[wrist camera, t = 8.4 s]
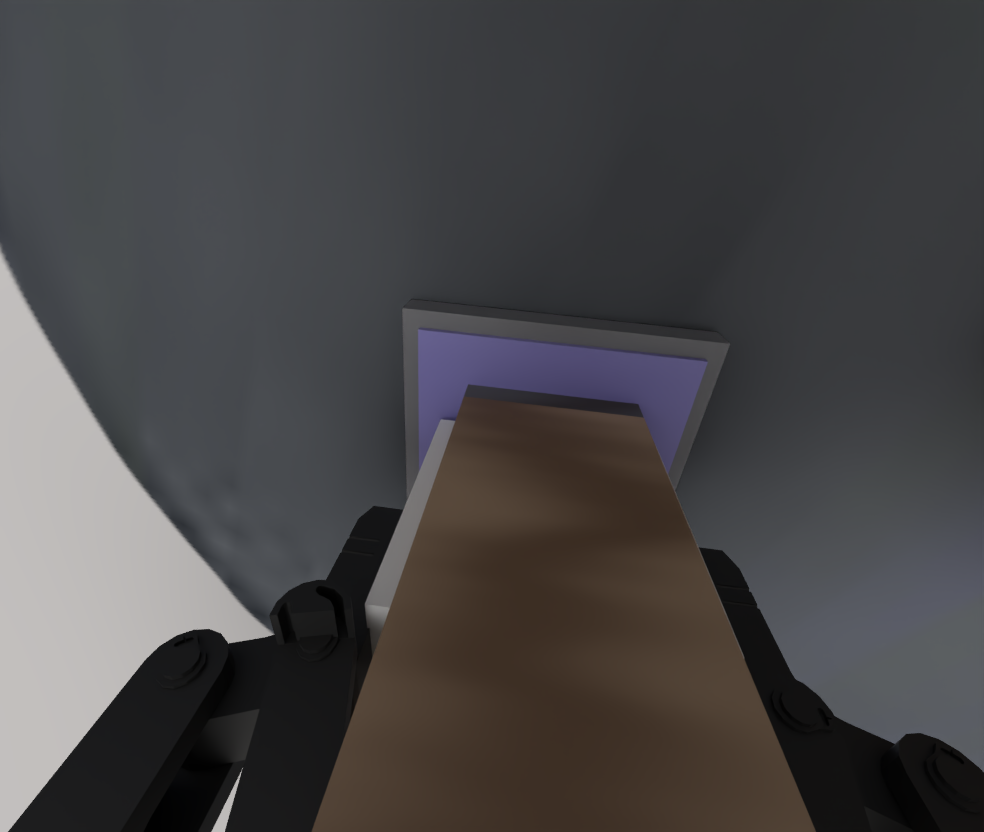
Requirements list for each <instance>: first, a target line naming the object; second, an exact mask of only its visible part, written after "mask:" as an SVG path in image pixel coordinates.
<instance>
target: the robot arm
mask: <svg viewBox="0 0 984 832" xmlns="http://www.w3.org/2000/svg"><path fill="white" fill-rule="evenodd" d="M454 423H455V421H452V420H443V419H441V420H440V422H439V425H438V427H437V430H436V432H435V434H434V437H433V439H432V442H431V444H430V447H429V449H428V451H427V454H426V456H425V459H424V461H423V464H422V466H421V468H420V471H419V473H418V476H417V478H416V481H415V483H414V486H413V488H412V490H411V493H410V495H409V498H408V500H407V503H406V505H405V507H404V510H400V509H393V508H385V507H378V506H373V507H372V508H371V509H370V510H369V511H367V512H366V513H365V514H364V515H363V516H361V517H360V518H359V519H358V521H357V523H356V525H355V526H354V528H353V530H352V532H351V534H350V537H349V539H348V540H347V541H346V543H345V545H344V547H343V549H342V553H340V555H339V557H338V558H337V560H336V562H335V564H334V566H333V568H332V570H331V572H330V574H329V575H328V577H327V579H326V580H316V581H311V582H306V583H303V584H301V585H299V586H297V587H295V588H293V589H291V590H289V591H288V592H287V593H286V594H285V595H284V596H283V597H282V598H281V599H279V600H278V601H277V602H276V604H275V606H274V608H273V610H272V612H271V613H270V615H269V616H270V619H271V623H272V626H273V630H274V634H275V635H272V636H268V637H265V638H259V639H253V640H247V641H242V642H235V643H229V644H228V643H227V641H226V640H225V638H224V637H223V636H222V634H221V633H218V632H215V631H213V630H210V629H204V630H192V631H189V632H186V633H183V634H180V635H177V636H176V637H174V638H172V639H171V640H169V641H167V642H166V643H164V644H162V645H161V646H159V647H158V648H157V649H156V650H155V651H154V652H153V653H152V654H151V655H150V656H149V657H148V658H147V659H146V660H145V661H144V662H143V664H142V665H141V666H140V667H139V669H138V670H137V671H136V672H135V674H134V675H133V676H132V677H131V679H130V680H129V681H128V682H127V684H126V685H125V686H124V687H123V689H122V690H121V691H120V692H119V694H118V695H117V696H116V697H115V699H114V700H113V701H112V702H111V704H110V705H109V706H108V707H107V709H106V710H105V711H104V712H103V714H102V715H101V716H100V718H99V719H98V720H97V721H96V722H95V724H94V725H93V726H92V727H91V729H90V730H89V731H88V732H87V734H86V735H85V736H84V737H83V739H82V740H81V741H80V742H79V744H78V745H77V746H76V747H75V749H74V750H73V751H72V753H71V754H70V755H69V756H68V757H67V759H66V760H65V761H64V762H63V764H62V765H61V766H60V767H59V769H58V770H57V771H56V772H55V774H54V775H53V776H52V778H51V779H50V780H49V781H48V783H47V784H46V785H45V786H44V788H43V789H42V790H41V791H40V793H39V794H38V795H37V796H36V798H35V799H34V800H33V801H32V803H31V804H30V805H29V806H28V808H27V809H26V810H25V811H24V813H23V814H22V815H21V816H20V818H19V819H18V820H17V821H16V823H15V824H14V825H13V826H12V828H11V829H10V830H9V831H8V832H211V831H212V829H213V827H214V825H215V823H216V821H217V819H218V817H219V815H220V813H221V811H222V809H223V807H224V805H225V803H226V801H227V799H228V797H229V795H230V793H231V790H232V789H233V786H234V784H235V782H236V780H237V778H238V776H239V774H240V772H241V770H242V773H241V777H240V780H239V784H238V787H237V791H236V794H235V798H234V801H233V805H232V808H231V812H230V815H229V819H228V822H227V826H226V829H225V832H312V829H313V826H314V823H315V820H316V818H317V815H318V812H319V809H320V806H321V803H322V800H323V798H324V795H325V792H326V789H327V786H328V783H329V780H330V778H331V775H332V772H333V769H334V766H335V763H336V760H337V758H338V755H339V752H340V749H341V746H342V743H343V740H344V738H345V735H346V732H347V729H348V726H349V723H350V720H351V718H352V715H353V712H354V709H355V706H356V703H357V700H358V698H359V695H360V692H361V689H362V686H363V683H364V680H365V678H366V675H367V672H368V669H369V666H370V663H371V660H372V658H373V655H374V652H375V649H376V646H377V643H378V640H379V638H380V635H381V632H382V629H383V626H384V623H385V620H386V618H387V615H388V612H389V609H390V606H391V603H392V600H393V598H394V595H395V592H396V589H397V586H398V583H399V580H400V578H401V575H402V572H403V569H404V566H405V563H406V560H407V558H408V555H409V552H410V549H411V546H412V543H413V540H414V538H415V535H416V532H417V529H418V526H419V523H420V520H421V518H422V515H423V512H424V509H425V506H426V503H427V500H428V498H429V495H430V492H431V489H432V486H433V483H434V480H435V478H436V475H437V472H438V469H439V466H440V463H441V460H442V458H443V455H444V452H445V449H446V446H447V443H448V440H449V438H450V435H451V432H452V429H453V426H454ZM655 446H656V445H655ZM656 448H657V447H656ZM658 453H659V452H658ZM659 455H660V454H659ZM660 458H661V457H660ZM661 460H662V459H661ZM663 465H664V464H663ZM664 467H665V466H664ZM665 470H666V469H665ZM666 472H667V471H666ZM668 477H669V476H668ZM669 479H670V478H669ZM670 482H671V481H670ZM671 484H672V483H671ZM673 489H674V488H673ZM674 491H675V490H674ZM675 494H676V493H675ZM676 496H677V495H676ZM677 499H678V498H677ZM678 501H679V500H678ZM679 503H680V502H679ZM680 506H681V505H680ZM681 508H682V507H681ZM682 511H683V509H682ZM683 513H684V512H683ZM684 515H685V514H684ZM685 518H686V517H685ZM686 520H687V519H686ZM687 523H688V521H687ZM688 525H689V524H688ZM689 527H690V526H689ZM690 530H691V529H690ZM691 532H692V531H691ZM692 535H693V533H692ZM693 537H694V536H693ZM694 539H695V538H694ZM695 542H696V541H695ZM696 544H697V543H696ZM697 547H698V545H697ZM698 549H699V551H700V554H701V556H702V559H703V561H704V564H705V566H706V568H707V571H708V573H709V576H710V578H711V580H712V583H713V585H714V588H715V590H716V592H717V595H718V597H719V600H720V602H721V604H722V607H723V609H724V612H725V614H726V616H727V619H728V621H729V624H730V626H731V629H732V631H733V633H734V636H735V638H736V641H737V643H738V645H739V648H740V650H741V653H742V655H743V657H744V660H745V662H746V665H747V667H748V669H749V672H750V674H751V677H752V679H753V681H754V684H755V686H756V689H757V691H758V694H759V696H760V698H761V701H762V703H763V706H764V708H765V710H766V713H767V715H768V718H769V720H770V722H771V725H772V727H773V730H774V732H775V734H776V737H777V739H778V742H779V744H780V746H781V749H782V751H783V754H784V756H785V759H786V761H787V763H788V766H789V768H790V771H791V773H792V775H793V778H794V780H795V783H796V785H797V787H798V790H799V792H800V795H801V797H802V799H803V802H804V804H805V807H806V809H807V811H808V814H809V816H810V819H811V821H812V824H813V826H814V828H815V831H816V832H984V772H983V771H982V770H981V769H980V768H979V767H977V766H976V765H975V764H974V763H973V762H971V761H970V760H969V759H968V758H967V757H966V756H964V755H963V754H962V753H961V752H959V751H958V750H956V749H954V748H953V747H951V746H949V745H948V744H946V743H944V742H943V741H941V740H939V739H936V738H933V737H930V736H927V735H924V734H921V733H915V734H906V735H905V736H904V737H903V738H901V739H900V740H899V741H898V742H897V743H896V744H894V743H891V742H889V741H887V740H885V739H882V738H880V737H878V736H876V735H873V734H871V733H869V732H867V731H864V730H862V729H860V728H858V727H855V726H853V725H851V724H848V723H846V722H844V721H843V720H841V719H839V718H837V717H835V716H834V715H833V713H832V711H831V710H830V709H829V708H828V706H827V705H826V704H825V703H824V702H823V700H822V699H821V698H820V697H819V696H818V695H817V694H816V693H815V692H813V691H812V690H811V689H810V688H808V687H807V686H806V685H805V684H803V683H801V682H799V681H797V680H796V679H795V678H794V676H793V675H792V673H791V671H790V669H789V667H788V665H787V663H786V661H785V659H784V657H783V655H782V653H781V651H780V649H779V647H778V645H777V643H776V641H775V639H774V637H773V635H772V633H771V631H770V629H769V627H768V625H767V623H766V621H765V619H764V617H763V615H762V613H761V611H760V609H757V603H756V601H755V599H754V597H753V595H752V593H751V592H749V587H748V585H747V583H746V581H745V579H744V577H743V575H742V573H741V571H740V569H739V568H738V567H737V566H736V565H735V564H734V563H733V561H732V560H731V559H730V558H729V557H728V556H727V555H726V554H725V553H724V552H723V551H722V550H714V549H707V548H699V547H698ZM242 768H243V769H242Z"/></svg>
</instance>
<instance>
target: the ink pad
mask: <svg viewBox="0 0 984 832" xmlns="http://www.w3.org/2000/svg"><path fill="white" fill-rule="evenodd" d="M402 318H403V359H404V400H405V441H406V482H407V500H408V498H409V495H410V493H411V490H412V488H413V486H414V483H415V481H416V478H417V476H418V473H419V471H420V468H421V466H422V464H423V461H424V459H425V456H426V454H427V451H428V449H429V447H430V444H431V442H432V439H433V437H434V434H435V432H436V430H437V427H438V425H439V422H440V420H441V419H443V420H452V421H455V420H456V418H457V415H458V412H459V409H460V406H461V403H462V400H463V397H464V395H465V392H466V389H467V386H468V384H470V385H478V386H487V387H495V388H504V389H513V390H521V391H530V392H538V393H547V394H556V395H564V396H573V397H581V398H590V399H598V400H607V401H616V402H624V403H633V404H638V405H639V407H640V409H641V412H642V414H643V417H644V419H645V421H646V424H647V426H648V429H649V431H650V434H651V436H652V438H653V441H654V443H655V445H656V447H657V450H658V452H659V454H660V457H661V459H662V462H663V464H664V466H665V469H666V471H667V474H668V476H669V478H670V481H671V483H672V486H673V488H674V490H675V491H676V488H677V485H678V483H679V480H680V477H681V475H682V472H683V469H684V467H685V464H686V461H687V459H688V456H689V453H690V451H691V448H692V445H693V443H694V440H695V437H696V435H697V432H698V429H699V427H700V424H701V421H702V419H703V416H704V413H705V411H706V408H707V405H708V403H709V400H710V397H711V395H712V392H713V389H714V387H715V384H716V381H717V379H718V376H719V373H720V371H721V368H722V365H723V362H724V360H725V357H726V354H727V352H728V349H729V346H730V343H729V342H728V341H727V340H726V339H725V338H723V337H722V336H721V335H720V334H719V333H718V332H713V331H703V330H694V329H685V328H675V327H666V326H657V325H648V324H638V323H629V322H620V321H610V320H601V319H592V318H583V317H573V316H564V315H555V314H545V313H536V312H527V311H518V310H508V309H499V308H490V307H480V306H471V305H462V304H453V303H443V302H434V301H425V300H415V299H411V300H410V301H409V302H408V303H407V304H406V305H405V306H404V307H403V308H402Z"/></svg>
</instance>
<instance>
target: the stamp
mask: <svg viewBox="0 0 984 832" xmlns="http://www.w3.org/2000/svg"><path fill="white" fill-rule="evenodd" d="M312 832H816V831H815V828H814V826H813V824H812V821H811V819H810V816H809V814H808V811H807V809H806V807H805V804H804V802H803V799H802V797H801V795H800V792H799V790H798V787H797V785H796V783H795V780H794V778H793V775H792V773H791V771H790V768H789V766H788V763H787V761H786V759H785V756H784V754H783V751H782V749H781V746H780V744H779V742H778V739H777V737H776V734H775V732H774V730H773V727H772V725H771V722H770V720H769V718H768V715H767V713H766V710H765V708H764V706H763V703H762V701H761V698H760V696H759V694H758V691H757V689H756V686H755V684H754V681H753V679H752V677H751V674H750V672H749V669H748V667H747V665H746V662H745V660H744V657H743V655H742V653H741V650H740V648H739V645H738V643H737V641H736V638H735V636H734V633H733V631H732V629H731V626H730V624H729V621H728V619H727V616H726V614H725V612H724V609H723V607H722V604H721V602H720V600H719V597H718V595H717V592H716V590H715V588H714V585H713V583H712V580H711V578H710V576H709V573H708V571H707V568H706V566H705V564H704V561H703V559H702V556H701V554H700V551H699V549H698V547H697V544H696V542H695V539H694V537H693V535H692V532H691V530H690V527H689V525H688V523H687V520H686V518H685V515H684V513H683V511H682V508H681V506H680V503H679V501H678V499H677V496H676V494H675V491H674V489H673V486H672V484H671V482H670V479H669V477H668V474H667V472H666V470H665V467H664V465H663V462H662V460H661V458H660V455H659V453H658V450H657V448H656V446H655V443H654V441H653V438H652V436H651V434H650V431H649V429H648V426H647V424H646V421H645V419H644V417H643V414H642V412H641V409H640V407H639V405H638V404H633V403H624V402H616V401H607V400H598V399H590V398H581V397H573V396H564V395H556V394H547V393H538V392H530V391H521V390H513V389H504V388H495V387H487V386H478V385H470V384H468V386H467V389H466V392H465V395H464V397H463V400H462V403H461V406H460V409H459V412H458V415H457V418H456V420H455V423H454V426H453V429H452V432H451V435H450V438H449V440H448V443H447V446H446V449H445V452H444V455H443V458H442V460H441V463H440V466H439V469H438V472H437V475H436V478H435V480H434V483H433V486H432V489H431V492H430V495H429V498H428V500H427V503H426V506H425V509H424V512H423V515H422V518H421V520H420V523H419V526H418V529H417V532H416V535H415V538H414V540H413V543H412V546H411V549H410V552H409V555H408V558H407V560H406V563H405V566H404V569H403V572H402V575H401V578H400V580H399V583H398V586H397V589H396V592H395V595H394V598H393V600H392V603H391V606H390V609H389V612H388V615H387V618H386V620H385V623H384V626H383V629H382V632H381V635H380V638H379V640H378V643H377V646H376V649H375V652H374V655H373V658H372V660H371V663H370V666H369V669H368V672H367V675H366V678H365V680H364V683H363V686H362V689H361V692H360V695H359V698H358V700H357V703H356V706H355V709H354V712H353V715H352V718H351V720H350V723H349V726H348V729H347V732H346V735H345V738H344V740H343V743H342V746H341V749H340V752H339V755H338V758H337V760H336V763H335V766H334V769H333V772H332V775H331V778H330V780H329V783H328V786H327V789H326V792H325V795H324V798H323V800H322V803H321V806H320V809H319V812H318V815H317V818H316V820H315V823H314V826H313V829H312Z"/></svg>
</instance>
